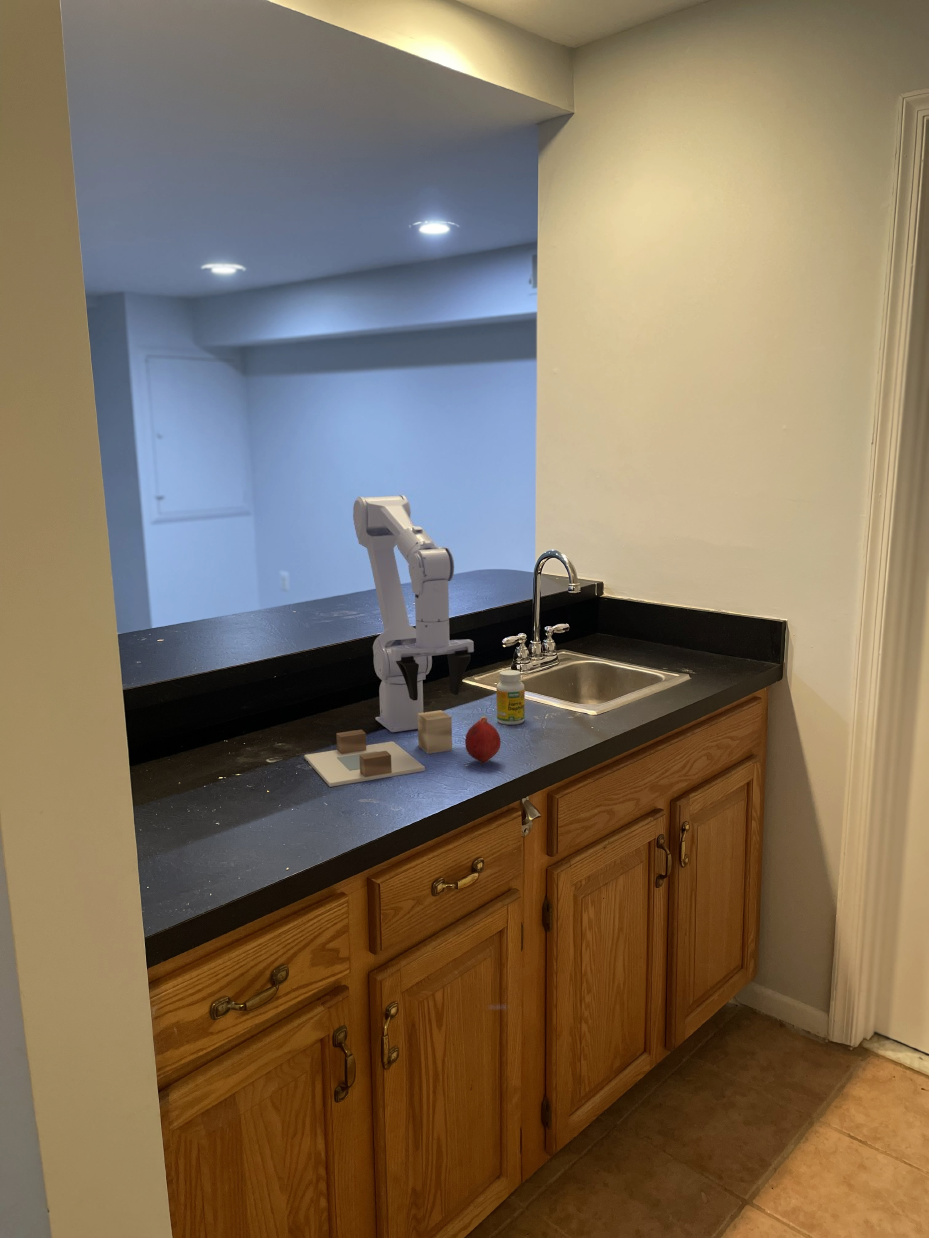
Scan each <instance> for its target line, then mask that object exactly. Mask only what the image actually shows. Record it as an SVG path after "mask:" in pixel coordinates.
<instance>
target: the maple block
mask: <svg viewBox="0 0 929 1238" xmlns="http://www.w3.org/2000/svg"><path fill="white" fill-rule="evenodd" d="M452 723H453V722H452V716H451V715H450V714H448V713H446V712H445V711H443V710H441V709H440V710H434V711H426V712H423V713H418V729H417V736H418V737H417V739H418V741H417V742H418V747H419V748H420V749H421V750H422V751H424V752H425V753H426V754H434V753H439V752H442V753H443V752H447V751H452V750H453V728H452V727H453V725H452Z"/></svg>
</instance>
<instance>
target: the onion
mask: <svg viewBox="0 0 929 1238" xmlns="http://www.w3.org/2000/svg"><path fill="white" fill-rule="evenodd" d="M465 735H466V736H465V740H464V741H465V742H464V743H465V750H466V752H467V754H468V755H469V756H470V757H472V758H473V759H474V760H476V761H477V762H478V763H481V764H487V763H488V762H489V760H491V759H492V758H493V757H495V755H496V754H498V752H499V750H500V749H501V742H502V741H501V737H500V733H499V732H498V731H497V729H496V727H494V726H493V725H492V724H491V723H489V722H488V718H487V716H482V717H480V719H479V720H478V721H477V722H476V723H474V724H473V725H472V726H471V727H470V728H468V730H467V732H466V734H465Z"/></svg>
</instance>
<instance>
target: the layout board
mask: <svg viewBox="0 0 929 1238" xmlns="http://www.w3.org/2000/svg"><path fill="white" fill-rule="evenodd" d="M380 751H387V752H388V753H389V754H391V769H392V773H388V774H382V775H376V776H370V777H364V776H363V775H362V774H361V773H360V757H359V755H361V754H367V753H374V752H380ZM304 759H305V761H306V762H307V761H308V762H307V763H308V764H309V765H310V767H312V768H313V770H314V771H315V772H316V773H317V774H318V775H319V777H321V779H322V780H323V781H324V782H325V783H326V784H327V786H329V787H330V788H331V787H336V786H344V785H349V784H355V783H360V782H365V781H366V782H367V781H372V780H378V779H383V778H389V777H396V776H402V775H407V774H413V773H418V772H419V773H420V772H425V771H426V767H425V766H424V765H423V764H422V763H420V762H419V761H418V760H417V759H416V758H414V756H411V754H409V753H408V752H407V751H406V750H404V749H403V748H402V747H400V746H399V745H398V744H397V743H396V742H394V740H393V741H388V742H387V741H386V742H379V743H374V744H373V743H372V744H366V750H364V751H357V752H351V753H345V754H341V753H340V752H339V751H338V750H337V749H334V750H329V751H328V750H327V751H321V752H315V753H308V754H304Z"/></svg>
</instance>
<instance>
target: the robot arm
mask: <svg viewBox="0 0 929 1238" xmlns="http://www.w3.org/2000/svg"><path fill="white" fill-rule="evenodd" d="M352 509H353V511H352V513H353V514H352V518H353V524H354V529H355V536H356V538H357V542H358V544H359V545H360V546H363V547H364V548H365V549H366V551H367V554H368V557H369V562H370V567H371V571H372V573H371V574H372V577H373V580H374V581H373V582H374V586H375V591H376V597H377V600H378V605H379V611H380V616H381V620H382V621H381V622H382V626H383V631H382V632H381V633H380V634H379V635H378V636H377V637H376V638H375V640H374V642H373V645H372V651H373V666H374V667H373V668H374V671H375V673H376V676H377V677H378V678H379V679H380V680H381V682H380V685H379V690H378V692H379V693H378V694H379V713H380V714H379V716H376V717H375V720H376V721H377V722H378V723H379V724H380V725H382V726H383V727H385V728H386V729H387V730H388V731H389V732H391V733H397V732H398V733H399V732H404V731H413V730H418V713H424V693H423V692H424V691H423V689H424V687H423V680H426V675H428V674H429V673H430V671H431V669H432V664H433V659H432V658H433V657H432V656H441V655H446V657H447V658H446V659H447V664H448V672H449V680H448V681H449V693H451V694H453V695H454V696H458V695H459V693H460V687H461V684H462V683H461V682H462V680H463V676H464V674H465V673H466V672H465V671H466V670H467V667H468V666H469V664H470V662H471V657H472V656H471V654H470V653H474V651H475V649H474V646H475V645H474V641H473V640H472V639H468V638H467V639H451V640H450V608H449V607H450V603H449V601H450V600H449V599H450V598H449V597H450V596H449V594H450V593H449V582H451V581H452V579H453V578H454V573H455V562H454V561H455V560H454V557H453V554H452V551H451V550H450V549H449V548H450V547H448V546H447V547H446V546H443V547H442V546H438V545H436V543H435V542H434V541H433V540H432V538H431V537H430V536H429V534H428V533H427V532H426V530H424V528H422V526H419V525H418V526H415V525H414V523H413V522H412V519H411V513H412V512H411V505H410V502H409V500H408V498H407V497H406V496H405V495H404V494H399V495H392V496H391V495H389V496H388V495H387V496H368V497H366V496H357V498H356V499H355V501H354V503H353V508H352ZM395 547H396V548H397V550H398V551H399V552H400V554H401V555H402V558H404V559H405V561H406V563H407V564H408V573H409V577H410V581H411V592H412V593H414V605H415V606H414V607H415V608H414V609H415V610H414V611H415V612H414V613H415V627H414V626H412V625H411V624H410V622H409V621H410V620H409V617H408V612H407V611H408V610H407V607H406V602H405V598H404V597H405V596H404V592H403V588H402V584H401V578H400V575H399V574H400V573H399V570H398V564H397V558H396V556H395V550H394V549H395Z"/></svg>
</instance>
